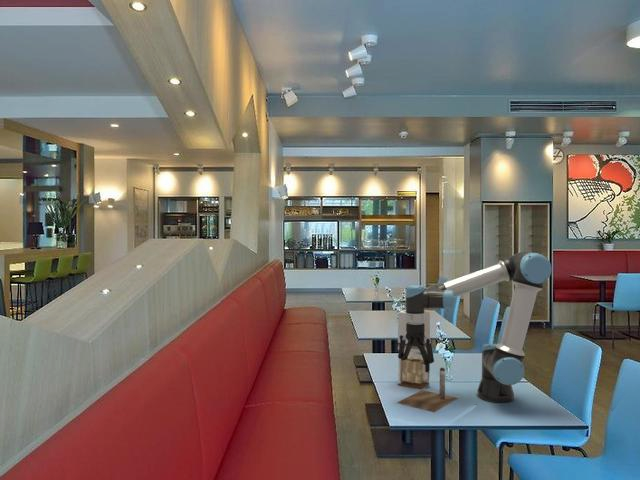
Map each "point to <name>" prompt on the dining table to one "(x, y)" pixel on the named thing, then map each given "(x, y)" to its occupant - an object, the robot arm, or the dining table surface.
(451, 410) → the dining table surface
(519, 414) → the dining table surface
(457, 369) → the dining table surface
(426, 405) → the board
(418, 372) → the tan wooden cube
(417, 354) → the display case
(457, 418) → the dining table surface
